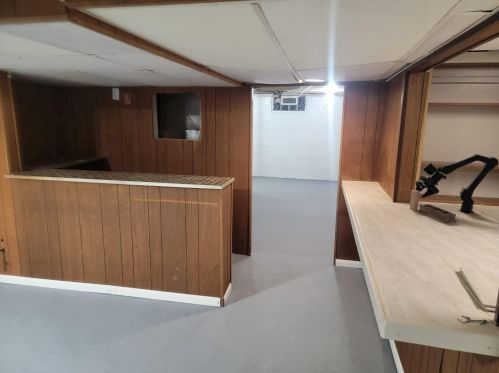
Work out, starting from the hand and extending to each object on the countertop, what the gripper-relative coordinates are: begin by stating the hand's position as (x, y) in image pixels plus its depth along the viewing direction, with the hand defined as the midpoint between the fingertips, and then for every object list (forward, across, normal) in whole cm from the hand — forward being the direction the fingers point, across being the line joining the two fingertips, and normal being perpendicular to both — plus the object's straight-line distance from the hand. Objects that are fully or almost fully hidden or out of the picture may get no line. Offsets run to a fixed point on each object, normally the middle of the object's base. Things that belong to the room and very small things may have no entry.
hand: (417, 195), depth 218 cm
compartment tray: (+6, +19, +7) cm, 21 cm away
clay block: (+8, 0, +5) cm, 9 cm away
